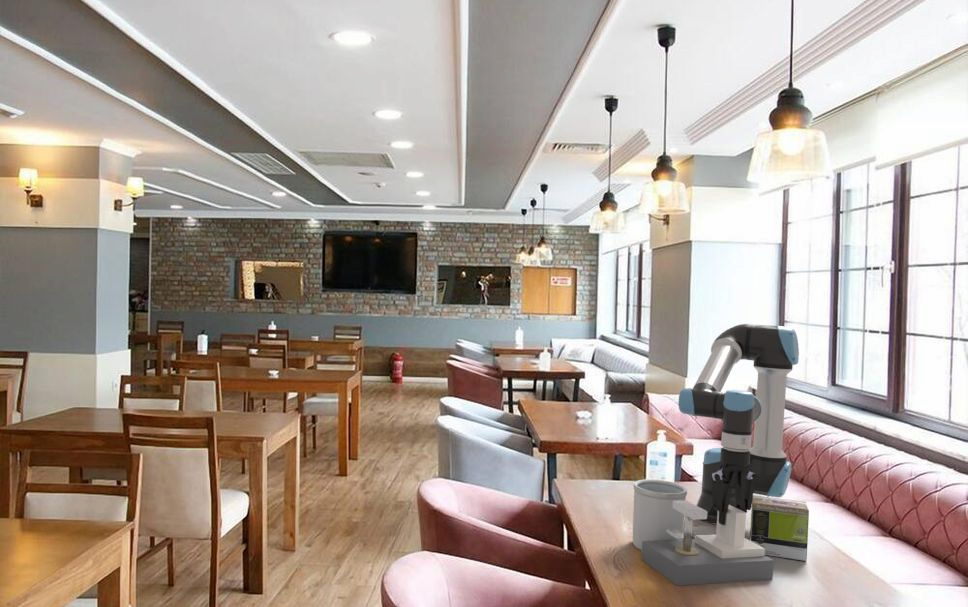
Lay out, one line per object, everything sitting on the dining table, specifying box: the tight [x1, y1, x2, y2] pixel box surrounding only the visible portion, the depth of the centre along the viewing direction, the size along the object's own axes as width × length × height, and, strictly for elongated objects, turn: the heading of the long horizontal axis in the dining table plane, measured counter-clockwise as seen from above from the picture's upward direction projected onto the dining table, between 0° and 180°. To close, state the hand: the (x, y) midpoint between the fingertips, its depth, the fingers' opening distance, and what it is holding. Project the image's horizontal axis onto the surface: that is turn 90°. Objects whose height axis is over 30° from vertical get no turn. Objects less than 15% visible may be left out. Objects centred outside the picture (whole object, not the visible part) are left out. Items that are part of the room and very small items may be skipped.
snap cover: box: [694, 505, 765, 558], centre depth 197 cm, size 13×12×11 cm
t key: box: [666, 499, 707, 551], centre depth 194 cm, size 14×4×12 cm, turn 17°
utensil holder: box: [632, 478, 688, 551], centre depth 211 cm, size 15×15×18 cm
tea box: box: [749, 494, 810, 562], centre depth 212 cm, size 15×10×15 cm, turn 71°
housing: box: [640, 538, 774, 587], centre depth 195 cm, size 28×18×5 cm, turn 107°
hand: (730, 536), depth 197 cm, fingers closed on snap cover, 3 cm apart
